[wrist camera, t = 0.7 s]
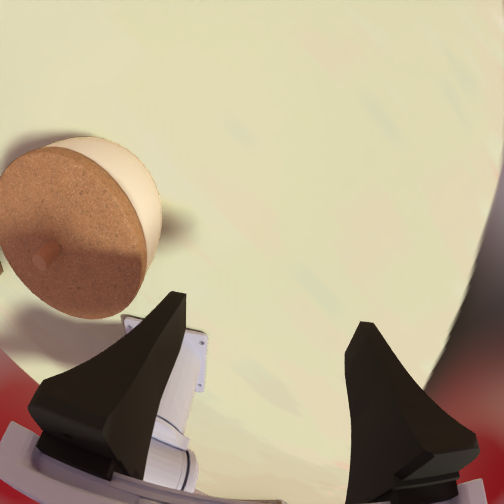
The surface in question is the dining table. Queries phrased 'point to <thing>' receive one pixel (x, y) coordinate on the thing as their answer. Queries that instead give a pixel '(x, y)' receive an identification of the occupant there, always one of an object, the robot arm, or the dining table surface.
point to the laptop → (267, 501)
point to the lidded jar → (80, 224)
